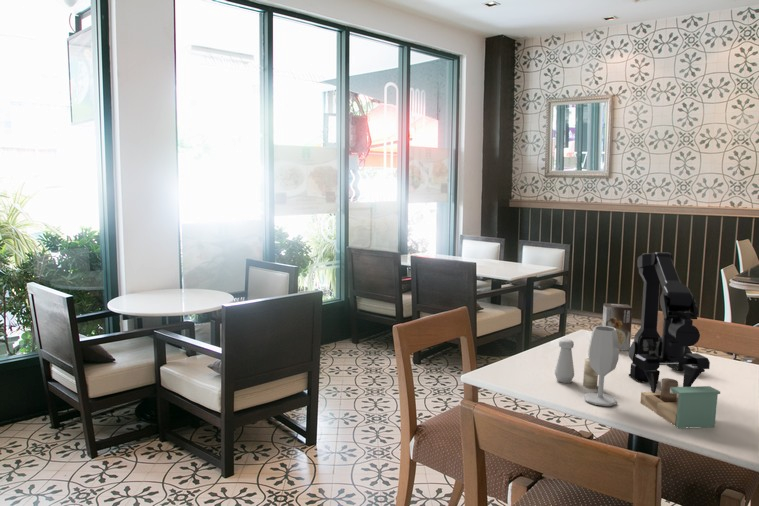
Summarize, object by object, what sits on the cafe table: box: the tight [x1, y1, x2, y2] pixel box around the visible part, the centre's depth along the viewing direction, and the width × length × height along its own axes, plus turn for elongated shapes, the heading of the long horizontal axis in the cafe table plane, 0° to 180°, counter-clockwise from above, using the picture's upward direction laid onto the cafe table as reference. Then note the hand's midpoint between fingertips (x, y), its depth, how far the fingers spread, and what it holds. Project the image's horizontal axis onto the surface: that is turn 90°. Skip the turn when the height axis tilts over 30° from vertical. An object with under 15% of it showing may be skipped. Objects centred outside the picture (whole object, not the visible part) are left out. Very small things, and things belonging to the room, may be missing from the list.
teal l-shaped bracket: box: [670, 385, 721, 429], centre depth 154 cm, size 11×4×9 cm, turn 97°
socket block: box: [640, 391, 679, 427], centre depth 162 cm, size 10×16×3 cm, turn 7°
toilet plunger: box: [666, 346, 693, 372], centre depth 203 cm, size 9×11×18 cm
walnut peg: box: [660, 377, 679, 403], centre depth 165 cm, size 4×4×8 cm
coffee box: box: [601, 302, 633, 351], centre depth 223 cm, size 9×6×16 cm
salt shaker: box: [554, 338, 575, 384], centre depth 186 cm, size 6×6×13 cm
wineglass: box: [583, 325, 620, 407], centre depth 169 cm, size 9×9×21 cm
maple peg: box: [582, 357, 599, 389], centre depth 182 cm, size 4×4×8 cm
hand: (669, 392), depth 164 cm, fingers open, 9 cm apart
